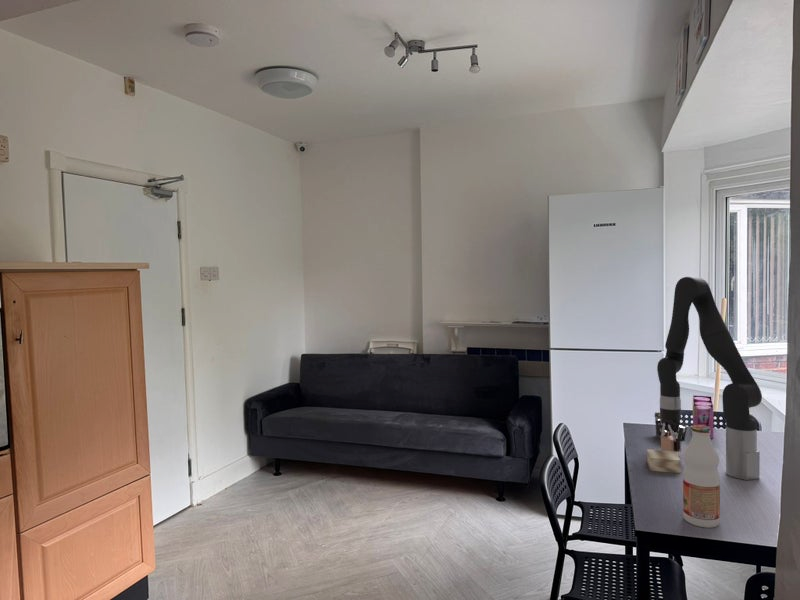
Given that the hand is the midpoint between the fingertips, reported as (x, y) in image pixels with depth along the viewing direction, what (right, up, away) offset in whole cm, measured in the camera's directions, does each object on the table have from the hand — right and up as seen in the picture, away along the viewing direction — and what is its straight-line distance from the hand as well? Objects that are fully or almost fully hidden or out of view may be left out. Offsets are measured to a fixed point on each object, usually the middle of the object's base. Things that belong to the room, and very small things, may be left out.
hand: (670, 448), depth 211 cm
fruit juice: (-19, -6, -55) cm, 59 cm away
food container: (+9, -1, +20) cm, 22 cm away
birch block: (-9, -3, -13) cm, 16 cm away
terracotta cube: (0, -1, 0) cm, 1 cm away
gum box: (+30, 0, +30) cm, 42 cm away
